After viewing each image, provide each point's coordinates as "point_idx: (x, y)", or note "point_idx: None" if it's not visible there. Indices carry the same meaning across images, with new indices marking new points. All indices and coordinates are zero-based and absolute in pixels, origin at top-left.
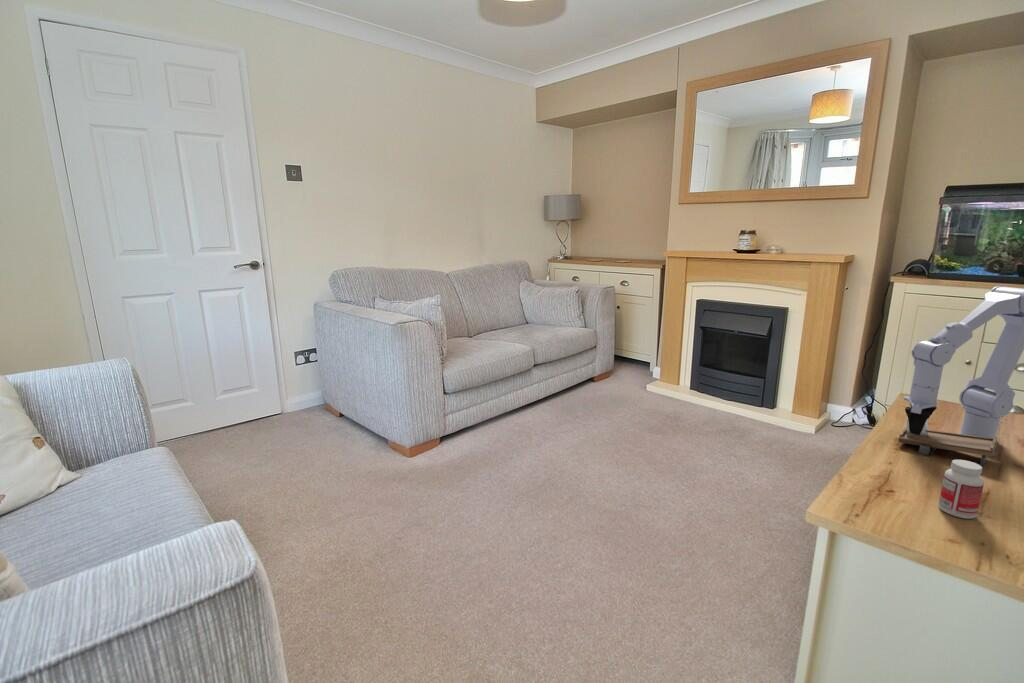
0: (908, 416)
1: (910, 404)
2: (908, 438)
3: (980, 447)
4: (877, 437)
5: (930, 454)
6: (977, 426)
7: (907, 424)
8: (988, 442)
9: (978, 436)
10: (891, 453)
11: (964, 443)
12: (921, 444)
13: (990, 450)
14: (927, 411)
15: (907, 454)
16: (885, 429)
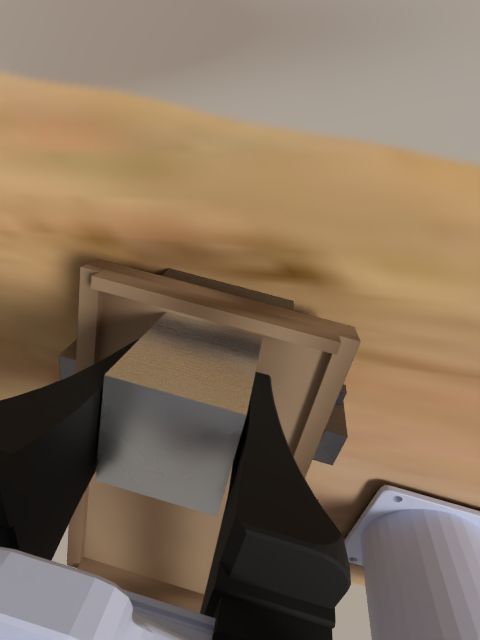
0: (6, 403)
1: (237, 524)
2: (84, 316)
3: (116, 545)
4: (238, 137)
5: None
6: (379, 632)
7: (128, 353)
8: (204, 583)
9: None
10: (12, 212)
11: (149, 515)
12: (69, 361)
13: (70, 561)
14: (212, 567)
15: (65, 282)
16: (475, 195)
